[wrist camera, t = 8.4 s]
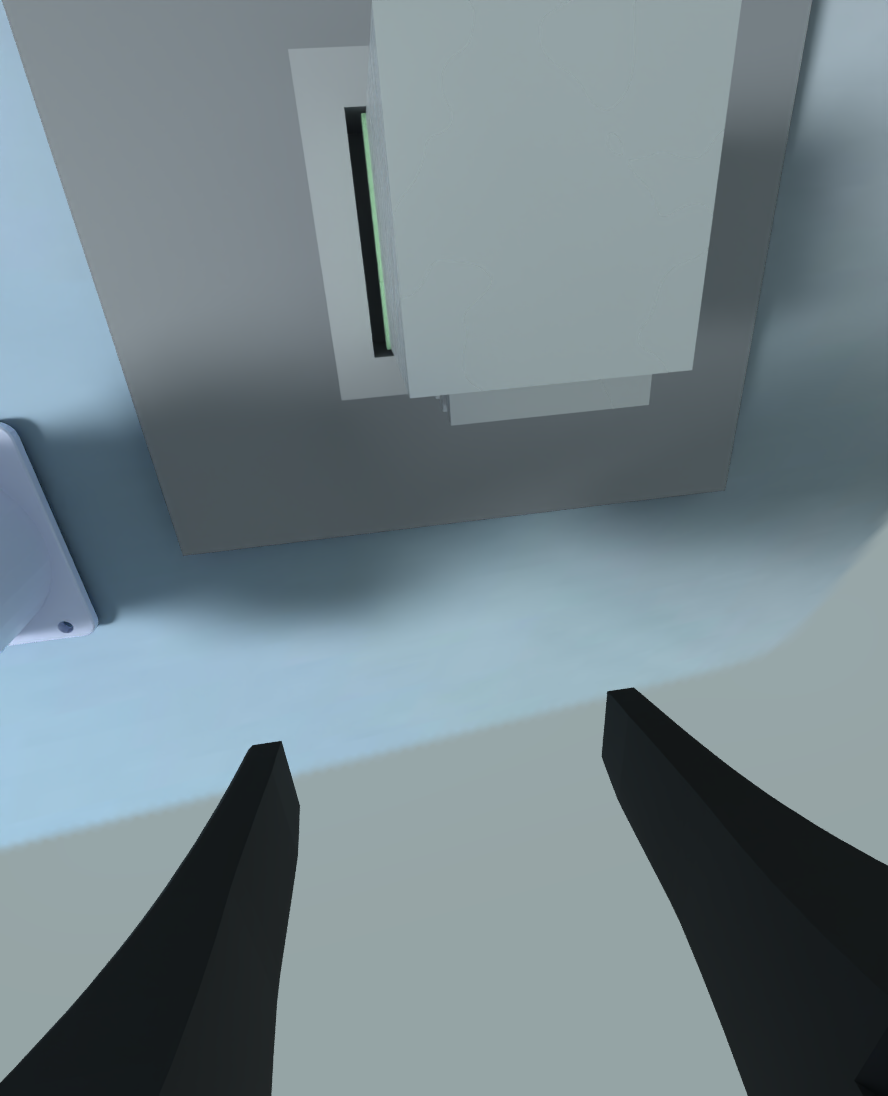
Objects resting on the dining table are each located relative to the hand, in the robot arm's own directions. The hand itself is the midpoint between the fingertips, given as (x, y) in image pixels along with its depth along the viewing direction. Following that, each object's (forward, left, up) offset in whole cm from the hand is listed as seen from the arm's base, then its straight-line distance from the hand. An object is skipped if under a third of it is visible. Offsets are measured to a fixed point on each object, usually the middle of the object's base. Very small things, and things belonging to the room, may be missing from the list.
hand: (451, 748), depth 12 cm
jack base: (+2, +10, -10) cm, 15 cm away
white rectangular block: (+2, +10, -6) cm, 12 cm away
